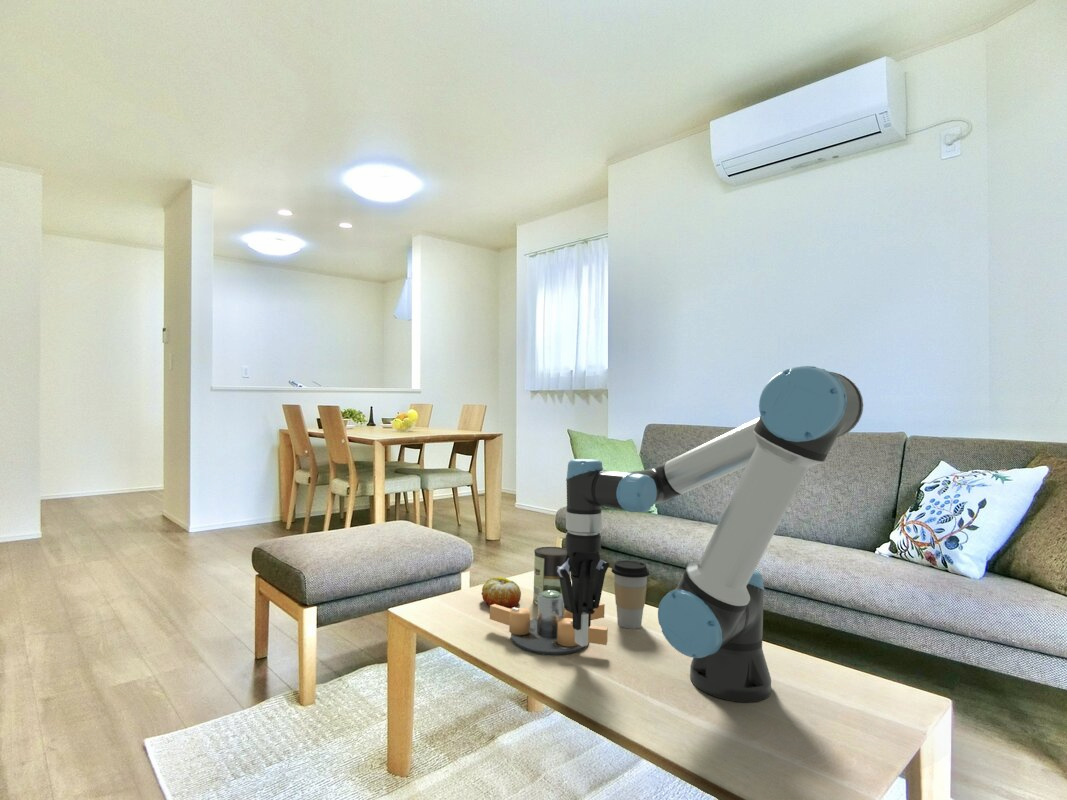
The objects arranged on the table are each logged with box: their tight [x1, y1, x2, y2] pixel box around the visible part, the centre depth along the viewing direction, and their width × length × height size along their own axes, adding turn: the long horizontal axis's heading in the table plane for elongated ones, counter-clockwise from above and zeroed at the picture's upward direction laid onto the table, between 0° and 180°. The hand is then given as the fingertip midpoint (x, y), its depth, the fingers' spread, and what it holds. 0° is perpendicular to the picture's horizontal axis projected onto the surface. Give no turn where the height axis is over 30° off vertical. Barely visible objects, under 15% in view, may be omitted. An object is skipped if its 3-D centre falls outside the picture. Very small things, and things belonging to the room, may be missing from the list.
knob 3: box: [557, 617, 609, 647], centre depth 124 cm, size 11×5×5 cm, turn 75°
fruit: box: [481, 576, 522, 609], centre depth 155 cm, size 11×10×8 cm
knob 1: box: [489, 604, 532, 635], centre depth 132 cm, size 11×5×5 cm, turn 53°
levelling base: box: [510, 590, 588, 657], centre depth 131 cm, size 18×18×11 cm
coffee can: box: [532, 546, 571, 606], centre depth 157 cm, size 10×10×14 cm
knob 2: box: [563, 601, 606, 621], centre depth 136 cm, size 11×5×5 cm, turn 123°
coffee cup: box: [611, 559, 650, 629], centre depth 142 cm, size 9×9×15 cm
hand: (581, 643), depth 120 cm, fingers closed
